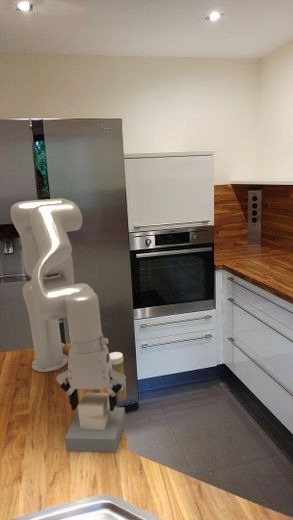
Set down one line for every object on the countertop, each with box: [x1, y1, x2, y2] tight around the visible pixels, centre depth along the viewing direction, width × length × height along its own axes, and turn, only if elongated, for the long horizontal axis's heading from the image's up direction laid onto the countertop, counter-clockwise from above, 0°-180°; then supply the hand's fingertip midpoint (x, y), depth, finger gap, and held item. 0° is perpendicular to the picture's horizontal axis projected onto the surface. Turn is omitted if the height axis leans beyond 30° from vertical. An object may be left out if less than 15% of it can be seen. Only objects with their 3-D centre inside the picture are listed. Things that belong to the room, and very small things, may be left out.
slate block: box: [64, 406, 126, 454], centre depth 89 cm, size 12×12×4 cm
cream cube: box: [77, 392, 111, 430], centre depth 88 cm, size 6×6×6 cm
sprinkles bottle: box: [109, 351, 128, 402], centre depth 103 cm, size 5×5×14 cm
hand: (94, 407), depth 88 cm, fingers open, 9 cm apart
